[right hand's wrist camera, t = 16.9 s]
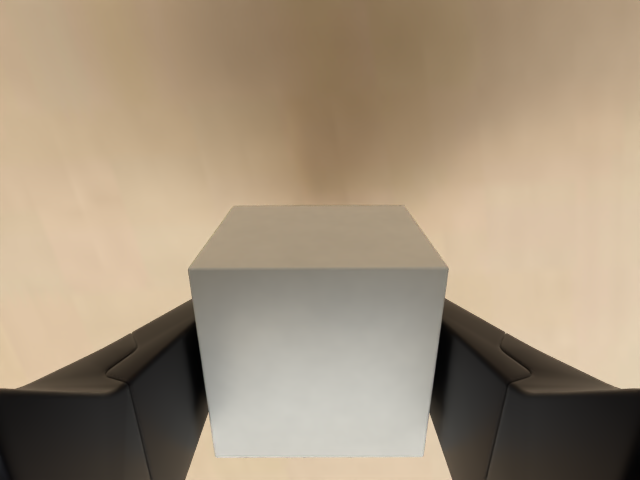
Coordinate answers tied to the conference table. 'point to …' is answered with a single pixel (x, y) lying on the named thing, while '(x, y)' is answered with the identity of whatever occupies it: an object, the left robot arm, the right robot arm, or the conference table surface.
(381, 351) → the block
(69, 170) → the conference table surface
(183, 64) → the conference table surface
